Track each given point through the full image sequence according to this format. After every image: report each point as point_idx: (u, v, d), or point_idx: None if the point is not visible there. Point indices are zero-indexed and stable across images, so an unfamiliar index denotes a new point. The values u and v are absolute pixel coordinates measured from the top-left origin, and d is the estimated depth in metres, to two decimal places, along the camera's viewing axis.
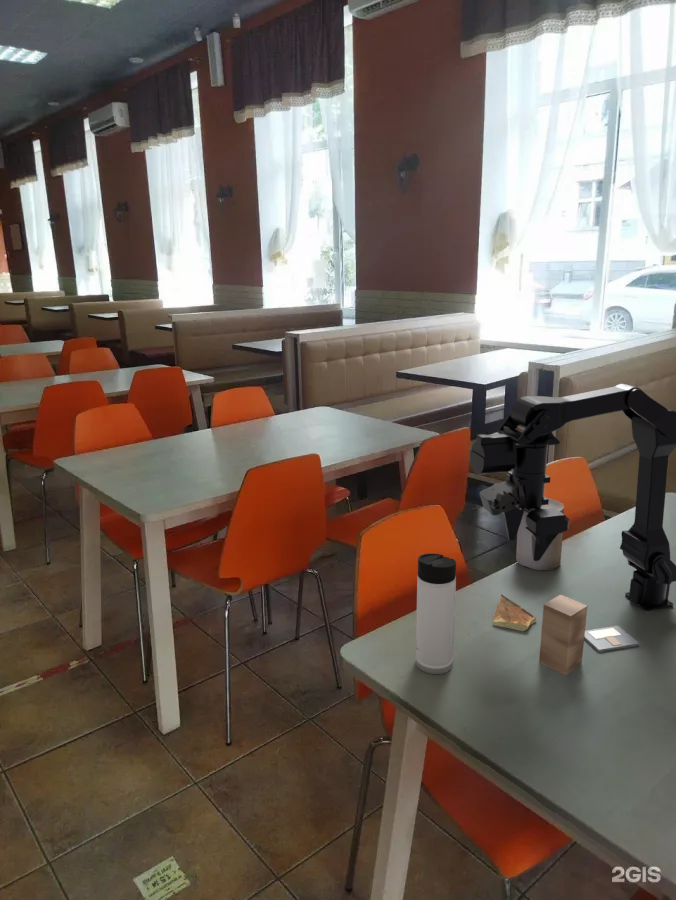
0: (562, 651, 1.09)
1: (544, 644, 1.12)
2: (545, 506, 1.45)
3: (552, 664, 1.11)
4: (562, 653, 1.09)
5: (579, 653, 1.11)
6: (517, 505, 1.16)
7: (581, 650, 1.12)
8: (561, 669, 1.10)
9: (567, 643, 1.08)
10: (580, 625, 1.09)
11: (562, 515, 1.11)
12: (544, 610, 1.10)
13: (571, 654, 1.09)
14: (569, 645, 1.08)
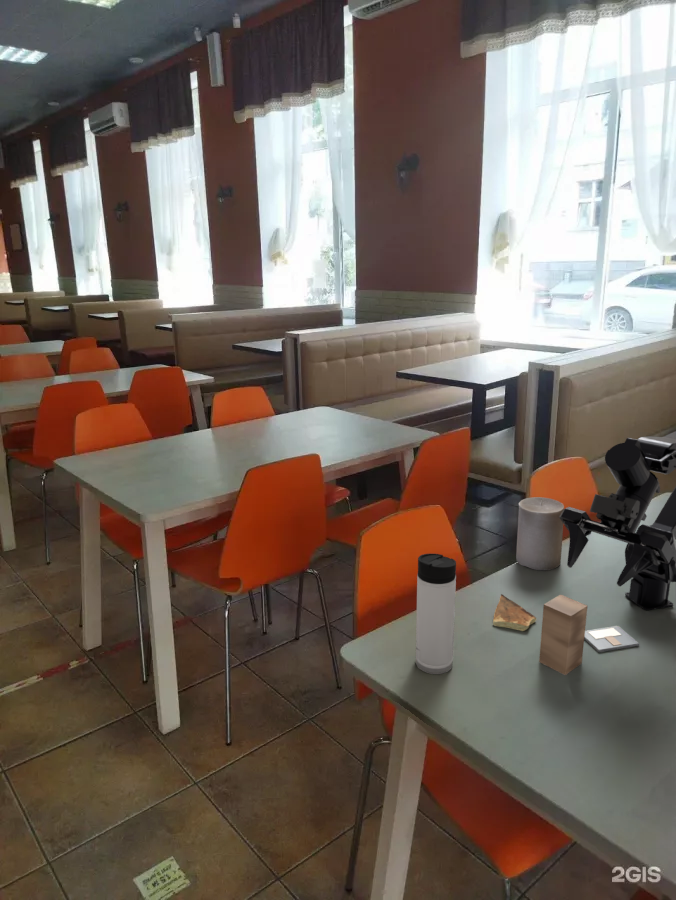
0: (562, 651, 1.09)
1: (544, 644, 1.12)
2: (545, 506, 1.45)
3: (552, 664, 1.11)
4: (562, 653, 1.09)
5: (579, 653, 1.11)
6: (625, 522, 1.13)
7: (581, 650, 1.12)
8: (561, 669, 1.10)
9: (567, 643, 1.08)
10: (580, 625, 1.09)
11: None
12: (544, 610, 1.10)
13: (571, 654, 1.09)
14: (569, 645, 1.08)
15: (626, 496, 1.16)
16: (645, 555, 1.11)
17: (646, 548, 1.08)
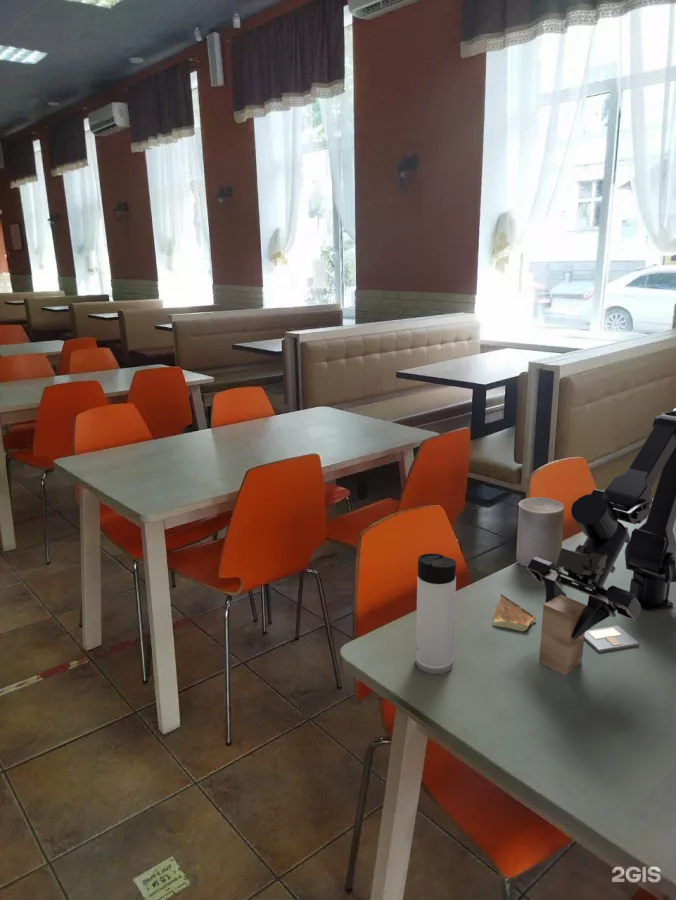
0: (562, 651, 1.09)
1: (544, 644, 1.12)
2: (545, 506, 1.45)
3: (552, 664, 1.11)
4: (562, 653, 1.09)
5: (579, 653, 1.11)
6: (592, 577, 1.09)
7: (581, 649, 1.12)
8: (561, 669, 1.10)
9: (567, 643, 1.08)
10: None
11: (638, 602, 1.07)
12: (544, 610, 1.10)
13: (571, 654, 1.09)
14: (569, 645, 1.08)
15: (593, 548, 1.12)
16: (601, 607, 1.08)
17: (601, 601, 1.06)
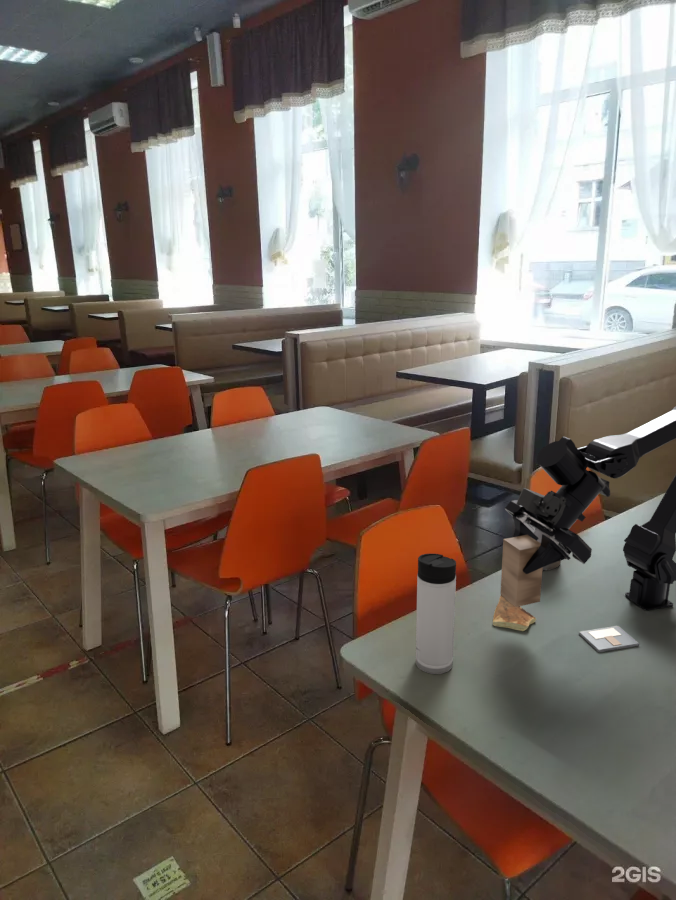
0: (514, 584, 1.17)
1: (503, 577, 1.20)
2: None
3: (508, 596, 1.20)
4: (514, 586, 1.17)
5: (536, 590, 1.18)
6: (550, 518, 1.15)
7: (538, 588, 1.18)
8: (513, 601, 1.18)
9: (517, 576, 1.16)
10: None
11: None
12: (503, 544, 1.19)
13: (523, 588, 1.17)
14: (519, 578, 1.16)
15: (561, 494, 1.17)
16: (554, 548, 1.14)
17: (549, 540, 1.12)
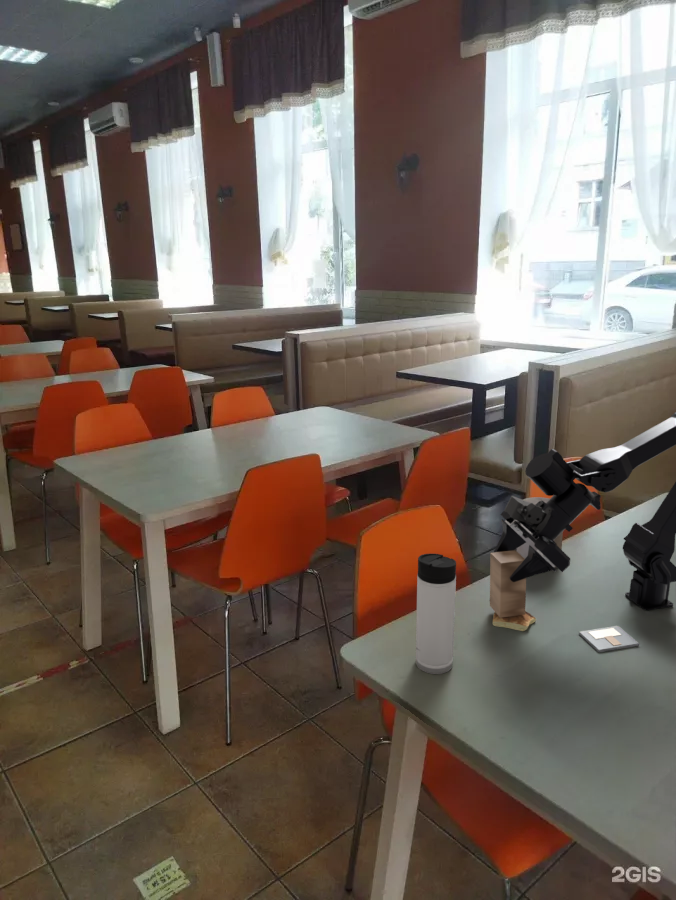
0: (498, 595, 1.24)
1: (491, 589, 1.28)
2: None
3: (494, 607, 1.27)
4: (498, 597, 1.24)
5: (520, 603, 1.24)
6: (534, 526, 1.20)
7: (523, 601, 1.24)
8: (498, 612, 1.25)
9: (500, 588, 1.23)
10: None
11: (568, 557, 1.16)
12: (490, 558, 1.27)
13: (506, 600, 1.24)
14: (502, 590, 1.23)
15: (549, 504, 1.22)
16: (540, 559, 1.18)
17: (534, 551, 1.16)
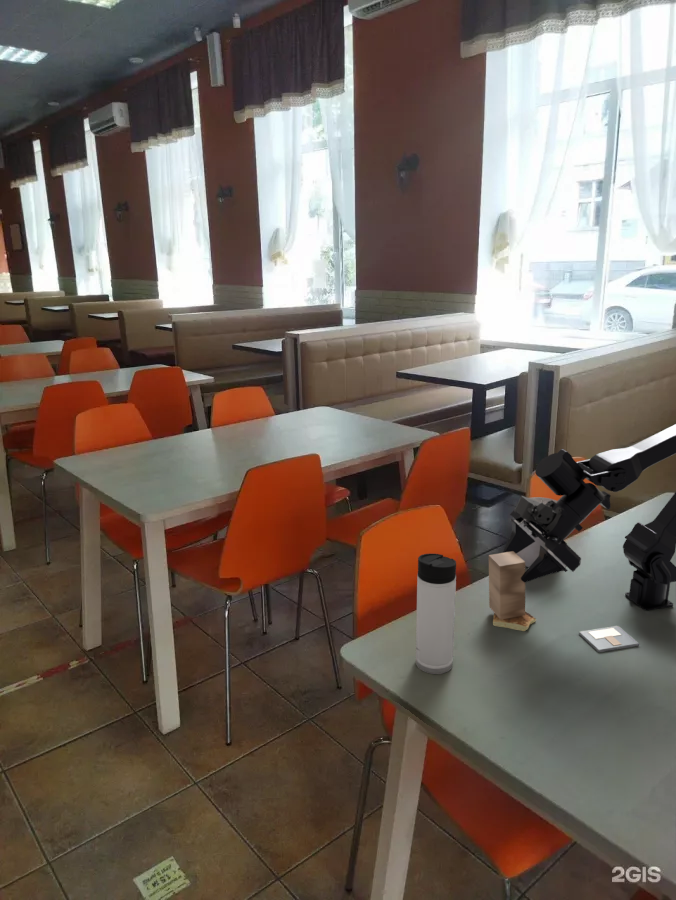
0: (498, 598, 1.24)
1: (490, 591, 1.27)
2: None
3: (494, 609, 1.26)
4: (498, 599, 1.24)
5: (520, 604, 1.24)
6: (544, 526, 1.21)
7: (522, 602, 1.24)
8: (498, 614, 1.25)
9: (499, 590, 1.23)
10: (517, 578, 1.23)
11: None
12: (489, 560, 1.26)
13: (506, 602, 1.23)
14: (502, 592, 1.23)
15: (559, 504, 1.22)
16: (551, 559, 1.18)
17: (545, 551, 1.16)
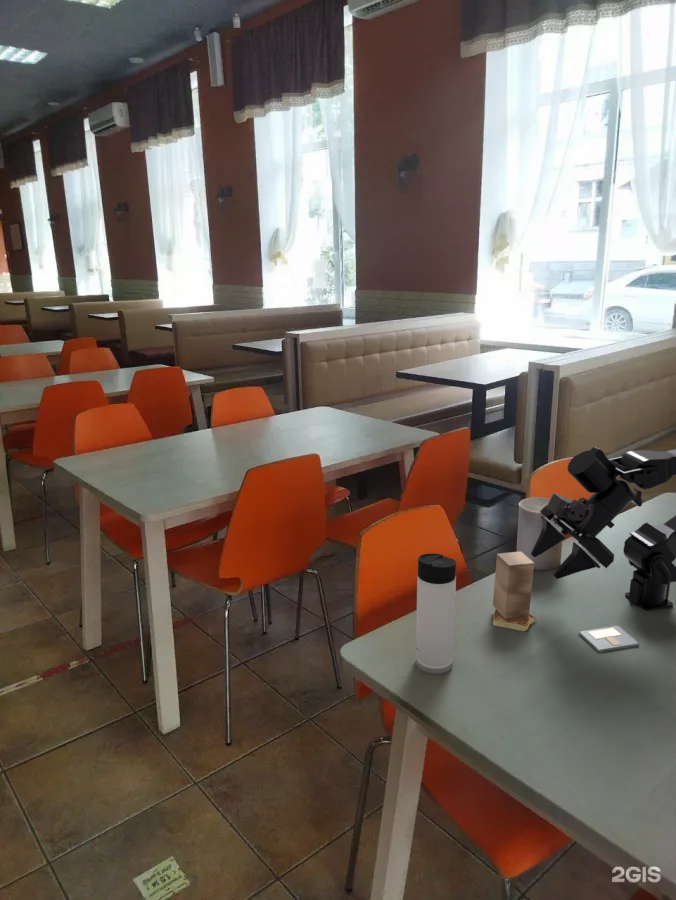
0: (503, 596, 1.24)
1: (495, 589, 1.27)
2: None
3: (498, 608, 1.26)
4: (504, 598, 1.24)
5: (525, 604, 1.25)
6: (577, 523, 1.22)
7: (527, 602, 1.25)
8: (502, 613, 1.25)
9: (506, 590, 1.23)
10: (525, 578, 1.23)
11: (612, 553, 1.17)
12: (497, 559, 1.26)
13: (512, 601, 1.24)
14: (508, 592, 1.23)
15: (590, 501, 1.23)
16: (584, 556, 1.19)
17: (579, 548, 1.17)
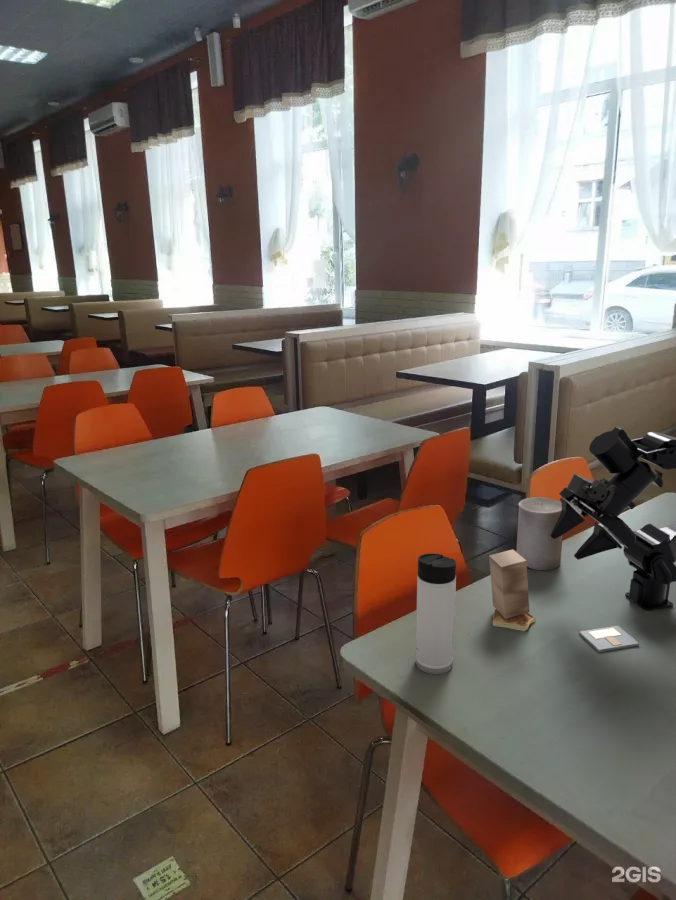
0: (501, 597, 1.24)
1: (493, 590, 1.27)
2: (545, 506, 1.45)
3: (498, 608, 1.26)
4: (501, 599, 1.24)
5: (524, 602, 1.24)
6: (598, 504, 1.21)
7: (526, 599, 1.24)
8: (503, 613, 1.25)
9: (502, 591, 1.23)
10: (519, 577, 1.23)
11: (634, 533, 1.16)
12: (490, 560, 1.26)
13: (510, 601, 1.24)
14: (505, 592, 1.23)
15: (611, 482, 1.23)
16: (606, 536, 1.18)
17: (601, 527, 1.17)
